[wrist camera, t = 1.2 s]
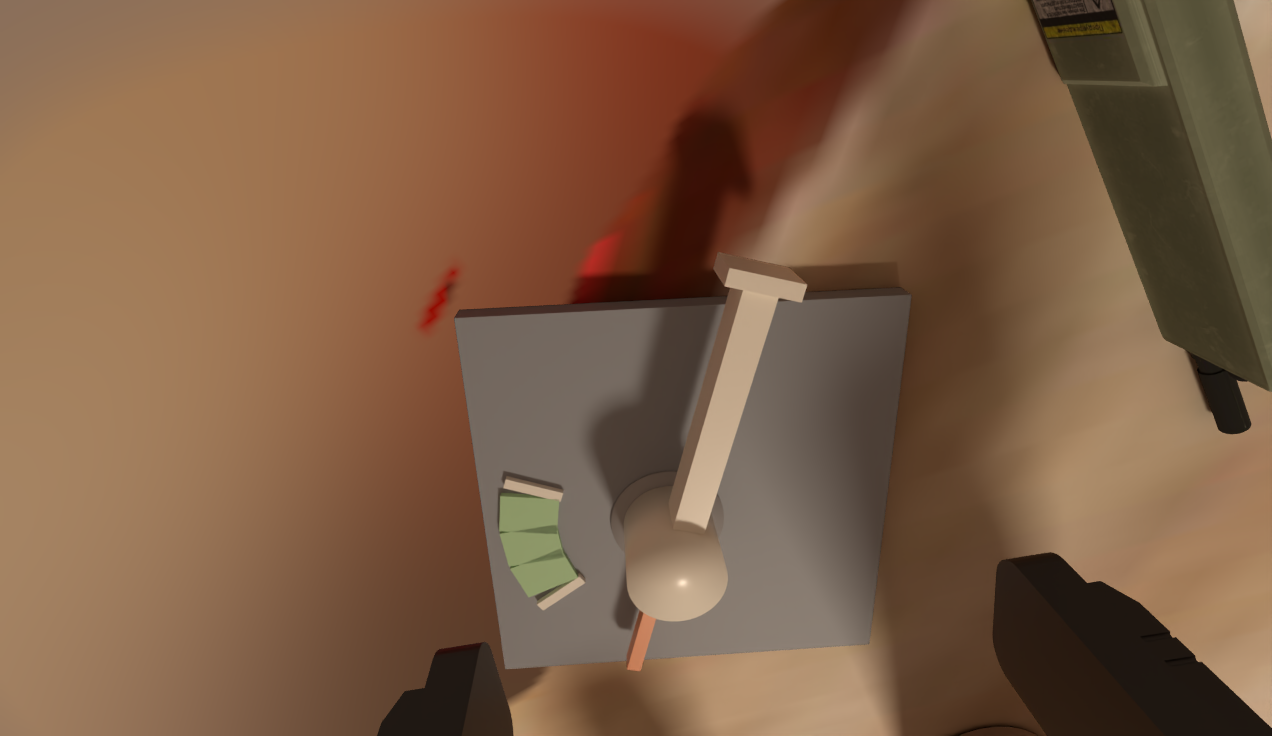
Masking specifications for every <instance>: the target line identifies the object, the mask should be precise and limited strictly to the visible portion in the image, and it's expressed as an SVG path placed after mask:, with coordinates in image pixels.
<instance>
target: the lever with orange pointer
mask: <svg viewBox="0 0 1272 736" xmlns="http://www.w3.org/2000/svg"><path fill="white" fill-rule="evenodd" d="M713 269H714V271H715V272H716V274H717V275H718V277H719V279H720V280H721V282H722V283H723V285H724V286H725V287H730V290H729V293H728V297H727V300H726V304H725V307H724V311H723V314H722V318H721V321H720V325H719V328H718V332H717V335H716V339H715V342H714V346H713V349H712V353H711V356H710V360H709V363H708V367H707V370H706V373H705V377H704V380H703V384H702V387H701V391H700V394H699V398H698V401H697V405H696V408H695V412H694V415H693V419H692V422H691V426H690V429H689V433H688V436H687V440H686V443H685V447H684V450H683V454H682V457H681V461H680V464H679V468H678V471H677V475H676V478H675V482H674V485H673V486H664V487H658V488H655V489H652V490H649V491H647V492H645V493H643V494H642V495H640V496H639V497H638V498H637V499H635V501H634V502H633V503H632V504H631V505H630V507H629V508H628V510H627V512H626V515H625V518H624V544H625V561H626V578H627V590H628V593H629V596H630V598H631V600H632V602H633V603H634V604H635V606H636V607H637V608H638V609H639V614H638V617H637V621H636V624H635V628H634V631H633V635H632V638H631V642H630V645H629V649H628V652H627V656H626V658H627V669H628V670H635V671H641V667H642V664H643V661H644V658H645V654H646V651H647V648H648V644H649V641H650V638H651V634H652V631H653V628H654V624H655V621H656V619H659V620H663V621H685V620H690V619H693V618H696V617H699V616H701V615H703V614H705V613H706V612H708V611H709V610H711V609H712V608H713V607H714V606H715V605H716V604H717V603H718V602H719V601H720V600H721V598H722V596H723V595H724V593H725V590H726V587H727V582H728V573H727V569H726V565H725V561H724V557H723V554H722V550H721V546H720V542H719V539H718V535H717V531H716V527H715V524H714V520H713V516H712V512H711V511H712V508H713V505H714V502H715V498H716V495H717V492H718V489H719V486H720V482H721V479H722V476H723V473H724V470H725V467H726V463H727V460H728V457H729V454H730V451H731V448H732V444H733V441H734V438H735V435H736V432H737V429H738V425H739V422H740V419H741V416H742V413H743V410H744V406H745V403H746V400H747V397H748V394H749V391H750V387H751V384H752V381H753V378H754V375H755V372H756V368H757V365H758V362H759V359H760V356H761V353H762V349H763V346H764V343H765V340H766V337H767V334H768V330H769V327H770V324H771V321H772V318H773V315H774V311H775V308H776V305H777V302H778V299H779V298H782V299H787V300H791V301H796V302H801V303H802V300H803V297H804V294H805V291H806V288H807V284H806V283H805V282H804V281H803V280H802V279H801V278H800V277H799V276H798V275H797V274H796V273H794V272H793V271H792V270H791V269H790V268H789V267H784V266H780V265H775V264H770V263H766V262H761V261H757V260H752V259H748V258H743V257H738V256H734V255H729V254H725V253H720V252H718V254H717V257H716V261H715V265H714V268H713Z"/></svg>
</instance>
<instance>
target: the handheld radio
mask: <svg viewBox="0 0 1272 736" xmlns="http://www.w3.org/2000/svg"><path fill="white" fill-rule="evenodd" d="M1031 1H1032V4H1033V6H1034V9H1035V12H1036V14H1037V17H1038V20H1039V22H1040V25H1041V27H1042V30H1043V33H1044V35H1045V38H1046V41H1047V43H1048V46H1049V48H1050V51H1051V54H1052V56H1053V59H1054V61H1055V64H1056V67H1057V69H1058V72H1059V75H1060V77H1061V80H1062V81H1063V83H1064V84H1067V86H1068V89H1069V91H1070V94H1071V97H1072V99H1073V102H1074V104H1075V107H1076V110H1077V112H1078V115H1079V118H1080V120H1081V123H1082V126H1083V128H1084V131H1085V134H1086V136H1087V139H1088V141H1089V144H1090V147H1091V149H1092V152H1093V155H1094V157H1095V160H1096V163H1097V165H1098V168H1099V171H1100V173H1101V176H1102V178H1103V181H1104V184H1105V186H1106V189H1107V192H1108V194H1109V197H1110V200H1111V202H1112V205H1113V208H1114V210H1115V213H1116V215H1117V218H1118V221H1119V223H1120V226H1121V229H1122V231H1123V234H1124V237H1125V239H1126V242H1127V245H1128V247H1129V250H1130V252H1131V255H1132V258H1133V260H1134V263H1135V266H1136V268H1137V271H1138V274H1139V276H1140V279H1141V282H1142V284H1143V287H1144V290H1145V292H1146V295H1147V297H1148V300H1149V303H1150V305H1151V308H1152V311H1153V313H1154V316H1155V319H1156V321H1157V324H1158V327H1159V329H1160V332H1161V334H1162V336H1163V338H1164V339H1165V340H1166V341H1168V342H1170V343H1173V344H1175V345H1177V346H1179V347H1181V348H1183V349H1185V350H1187V351H1189V352H1190V353H1191V356H1192V358H1194V359H1195V360H1196V363H1197V366H1198V369H1197V371H1198V374H1199V377H1200V380H1201V382H1202V385H1203V388H1204V391H1205V393H1206V396H1207V399H1208V402H1209V405H1210V407H1211V410H1212V413H1213V416H1214V419H1215V421H1216V424H1217V427H1218V429H1219V430H1220V431H1221V432H1223V433H1226V434H1238V433H1242V432H1245V431H1247V430H1248V429H1249V428H1250V427H1251V421H1250V418H1249V415H1248V412H1247V410H1246V407H1245V404H1244V401H1243V398H1242V395H1241V392H1240V389H1239V386H1238V383H1237V380H1238V381H1249V382H1251V383H1253V384H1255V385H1257V386H1259V387H1261V388H1263V389H1265V390H1267V391H1270V392H1272V139H1271V136H1270V132H1269V128H1268V125H1267V121H1266V117H1265V114H1264V110H1263V106H1262V103H1261V99H1260V96H1259V92H1258V88H1257V85H1256V81H1255V77H1254V74H1253V70H1252V66H1251V63H1250V59H1249V55H1248V52H1247V48H1246V44H1245V41H1244V37H1243V34H1242V30H1241V26H1240V23H1239V19H1238V15H1237V12H1236V8H1235V4H1234V1H1233V0H1031Z"/></svg>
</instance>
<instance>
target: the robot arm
mask: <svg viewBox="0 0 1272 736" xmlns="http://www.w3.org/2000/svg"><path fill="white" fill-rule="evenodd" d="M993 643H994V648H995V652H996V655H997V658H998V661H999V663H1000V666H1001V668H1002V670H1003V672H1004V674H1005V676H1006V677H1007V679H1008V680H1009V682H1010V683H1011V685H1012V686H1013V687H1014V689H1015V690H1016V692H1017V693H1018V695H1019V696H1020V697H1021V699H1022V700H1023V702H1024V703H1025V705H1026V706H1027V708H1028V709H1029V710H1030V712H1031V713H1032V715H1033V716H1034V718H1035V719H1036V720H1037V722H1038V723H1039V725H1040V726H1041V728H1042V729H1043V731H1044V732H1045V733H1046V735H1047V736H1272V728H1271V727H1270V726H1269V725H1268V724H1267V723H1266V722H1265V721H1264V720H1262V719H1261V718H1260V717H1259V716H1258V715H1257V714H1256V713H1255V712H1254V711H1253V710H1252V709H1251V708H1250V707H1249V706H1248V705H1247V704H1246V703H1245V702H1244V701H1242V700H1241V699H1240V698H1239V697H1238V696H1237V695H1236V694H1235V693H1234V692H1233V691H1232V690H1231V689H1230V688H1229V687H1228V686H1227V685H1226V684H1225V683H1223V682H1222V681H1221V680H1220V679H1219V678H1218V677H1217V676H1216V675H1215V674H1214V673H1213V672H1212V671H1211V670H1210V669H1209V668H1208V667H1207V666H1206V665H1205V664H1203V663H1202V662H1198V661H1197V660H1196V658H1195V655H1194V654H1193V653H1192V652H1191V651H1190V650H1189V649H1188V648H1187V647H1186V646H1184V645H1183V644H1182V643H1181V642H1180V641H1179V640H1178V639H1177V638H1176V637H1175V638H1172V637H1171V635H1170V631H1169V630H1168V629H1167V628H1166V627H1164V626H1163V625H1162V624H1161V623H1160V622H1159V621H1158V620H1157V619H1156V618H1155V617H1154V616H1153V615H1152V614H1151V613H1150V612H1149V611H1148V610H1147V609H1145V608H1144V607H1143V606H1142V605H1141V604H1140V603H1139V602H1137V601H1135V600H1133V599H1132V598H1130V597H1128V596H1126V595H1124V594H1123V593H1121V592H1119V591H1117V590H1116V589H1114V588H1112V587H1110V586H1108V585H1107V584H1105V583H1103V582H1101V581H1098V582H1092V583H1086V582H1085V581H1084V579H1083V578H1082V577H1081V576H1080V575H1079V574H1078V573H1077V572H1076V571H1075V570H1074V569H1073V568H1072V567H1071V566H1070V565H1069V564H1068V563H1067V562H1066V561H1065V560H1064V559H1063V558H1061V557H1060V556H1059V555H1057V554H1055V553H1051V552H1049V553H1043V554H1037V555H1030V556H1024V557H1018V558H1012V559H1006V560H1002V561H1000V562H999V564H998V567H997V572H996V588H995V603H994V619H993ZM377 736H513V725H512V718H511V713H510V709H509V706H508V702H507V699H506V696H505V693H504V690H503V687H502V683H501V680H500V677H499V674H498V670H497V667H496V664H495V661H494V658H493V654H492V651H491V649H490V646H489V645H488V643H486V642H482V643H476V644H469V645H463V646H457V647H451V648H445V649H439V650H438V651H437V652H436V653H435V655H434V658H433V661H432V664H431V668H430V671H429V675H428V678H427V682H426V686H425V688H422V689H416V690H410V691H405V692H404V693H403V694H402V696H401V697H400V699H399V700H398V701H397V703H396V704H395V705H394V707H393V708H392V709H391V711H390V712H389V713H388V715H387V716H386V718H385V719H384V720H383V722H382V723H381V726H380V729H379V732H378V735H377ZM960 736H1037V735H1036V734H1034V733H1031V732H1029V731H1026V730H1024V729H1018V728H1013V727H990V728H983V729H978V730H975V731H971V732H968V733H964V734H962V735H960Z"/></svg>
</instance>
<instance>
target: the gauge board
mask: <svg viewBox="0 0 1272 736" xmlns="http://www.w3.org/2000/svg"><path fill="white" fill-rule="evenodd" d="M911 296H912V295H911V294H910V293H908V292H907V291H905V290H904V289H902V288H901V287H898V288H878V289H858V290H839V291H819V292H805V294H804V297H803V300H802V303H801V302H796V301H791V300H787V299H782V298H779V299H778V302H777V305H776V308H775V311H774V315H773V318H772V321H771V324H770V327H769V330H768V334H767V337H766V340H765V343H764V346H763V349H762V353H761V356H760V359H759V362H758V365H757V368H756V372H755V375H754V378H753V381H752V384H751V387H750V391H749V394H748V397H747V400H746V403H745V406H744V410H743V413H742V416H741V419H740V422H739V425H738V429H737V432H736V435H735V438H734V441H733V444H732V448H731V451H730V454H729V457H728V460H727V463H726V467H725V470H724V473H723V476H722V479H721V482H720V486H719V489H718V492H717V495H716V498H715V502H714V505H713V508H712V511H711V512H712V516H713V520H714V524H715V527H716V531H717V535H718V539H719V542H720V546H721V550H722V554H723V557H724V561H725V565H726V569H727V573H728V582H727V587H726V590H725V593H724V595H723V596H722V598H721V600H720V601H719V602H718V603H717V604H716V605H715V606H714V607H713V608H712V609H711V610H709V611H708V612H706V613H705V614H703V615H701V616H699V617H696V618H693V619H690V620H685V621H663V620H659V619H656V621H655V624H654V628H653V631H652V634H651V638H650V641H649V644H648V648H647V651H646V654H645V658H644V660H647V659H661V658H676V657H690V656H705V655H719V654H734V653H749V652H763V651H778V650H792V649H807V648H822V647H836V646H851V645H865V644H869V643H870V634H871V626H872V618H873V610H874V601H875V593H876V585H877V577H878V568H879V560H880V552H881V544H882V535H883V527H884V519H885V511H886V502H887V494H888V486H889V478H890V469H891V461H892V453H893V445H894V436H895V428H896V420H897V412H898V403H899V395H900V387H901V379H902V370H903V362H904V354H905V346H906V337H907V329H908V321H909V313H910V304H911ZM727 297H728V296H721V297H701V298H682V299H662V300H642V301H623V302H603V303H584V304H564V305H544V306H526V307H506V308H486V309H467V310H459V311H458V313H457V314H456V316H455V318H454V321H455V328H456V334H457V342H458V348H459V355H460V361H461V369H462V376H463V382H464V390H465V396H466V403H467V410H468V417H469V423H470V431H471V437H472V444H473V451H474V458H475V465H476V472H477V478H478V484H479V492H480V499H481V506H482V513H483V519H484V526H485V533H486V540H487V547H488V554H489V560H490V567H491V574H492V580H493V588H494V594H495V602H496V608H497V615H498V622H499V629H500V636H501V643H502V649H503V656H504V663H505V669H515V668H529V667H544V666H559V665H574V664H588V663H603V662H617V661H627V658H626V656H627V652H628V649H629V645H630V642H631V638H632V635H633V631H634V628H635V624H636V621H637V617H638V614H639V609H638V608H637V607H636V606H635V604H634V603H633V602H632V600H631V598H630V596H629V593H628V590H627V578H626V561H625V544H624V518H625V515H626V512H627V510H628V508H629V507H630V505H631V504H632V503H633V502H634V501H635V499H637V498H638V497H639V496H640V495H642V494H643V493H645V492H647V491H649V490H652V489H655V488H658V487H664V486H673V485H674V482H675V478H676V475H677V471H678V468H679V464H680V461H681V457H682V454H683V450H684V447H685V443H686V440H687V436H688V433H689V429H690V426H691V422H692V419H693V415H694V412H695V408H696V405H697V401H698V398H699V394H700V391H701V387H702V384H703V380H704V377H705V373H706V370H707V367H708V363H709V360H710V356H711V353H712V349H713V346H714V342H715V339H716V335H717V332H718V328H719V325H720V321H721V318H722V314H723V311H724V307H725V304H726V300H727Z"/></svg>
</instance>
